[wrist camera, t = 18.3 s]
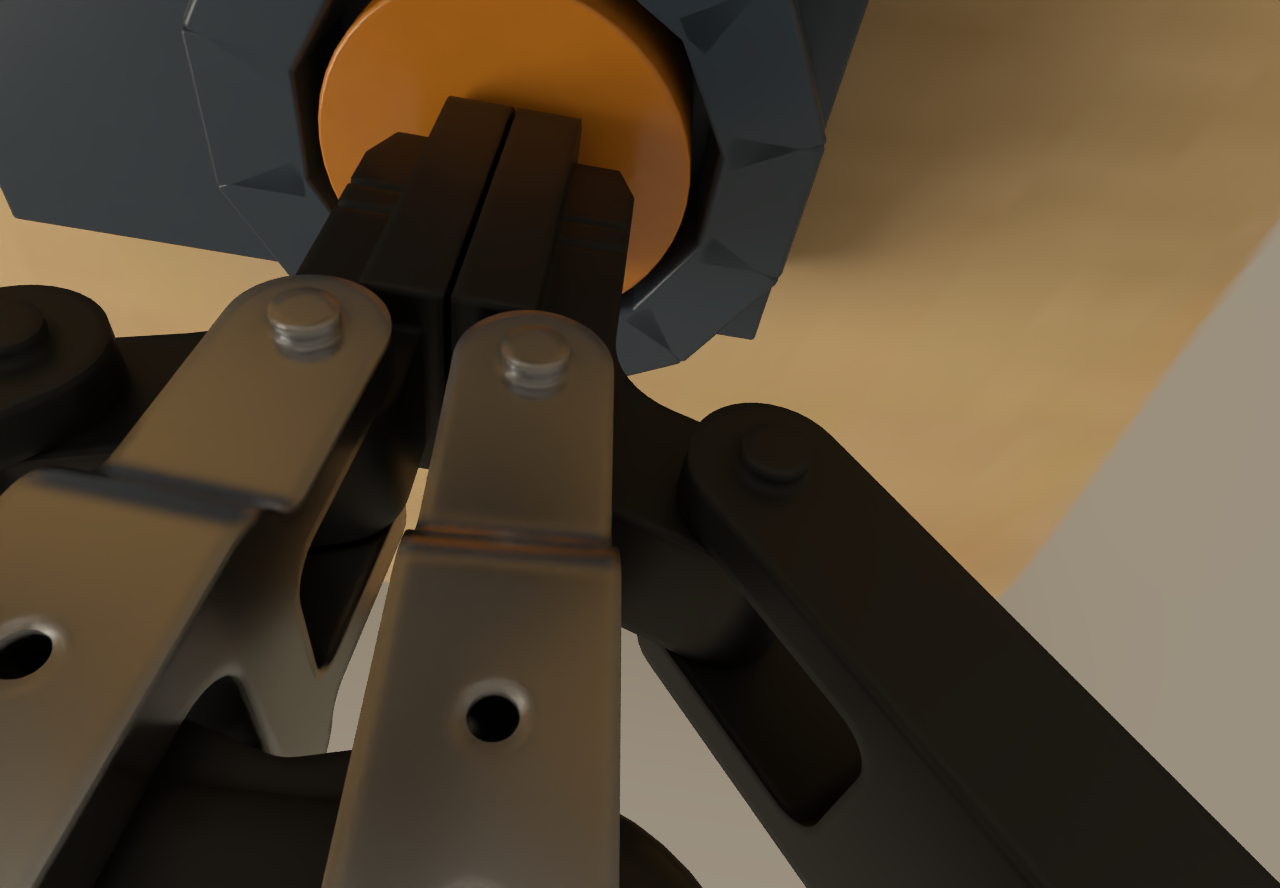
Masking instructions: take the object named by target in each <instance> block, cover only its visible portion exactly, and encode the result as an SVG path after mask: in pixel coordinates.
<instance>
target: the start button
mask: <svg viewBox="0 0 1280 888" xmlns="http://www.w3.org/2000/svg"><path fill="white" fill-rule="evenodd" d="M449 96H456V97H462V98H467V99H473V100H478V101H484V102H489V103H495V104H500V105H506V106H511V107H514V108H515V112H517V110H518V108H523V109H529V110H534V111H540V112H545V113H551V114H556V115H562V116H567V117H573V118H578V119H582V130H581V140H580V149H579V157H578V164H584V165H589V166H595V167H600V168H606V169H612V170H617V171H620V172H621V174H622V176H623V178H624V180H625V181H626V183H627V185H628V187H629V189H630V191H631V193H632V194H633V196H634V198H635V200H634V207H633V215H632V223H631V229H630V238H629V245H628V252H627V261H626V268H625V276H624V283H623V291H622V294H623V293H624V292H626V291H627V290H629V289H630V288H632V287H633V286H634V285H636V284H637V283H638V282H639V281H640V280H641V279H643V278H644V277H645V276H646V275H647V274H648V273H649V272H650V271H651V270H652V269H653V268H654V267H655V265H656V264H657V263H658V262H659V261H660V260H661V259H662V257H663V256H664V254H665V253H666V251H667V250H668V248H669V247H670V245H671V244H672V242H673V240H674V238H675V236H676V234H677V231H678V229H679V227H680V225H681V222H682V219H683V216H684V213H685V209H686V206H687V201H688V195H689V188H690V178H691V156H692V133H693V90H692V82H691V74H690V70H689V67H688V63H687V59H686V55H685V52H684V49H683V47H682V44H681V42H680V40H679V37H677V36H676V35H675V34H674V33H673V32H672V31H671V30H669V29H668V28H667V27H666V26H665V25H664V24H663V23H662V22H660V21H659V20H658V19H657V18H656V17H655V16H654V15H653V14H651V13H650V12H649V11H648V10H647V9H646V8H645V7H643V6H642V5H641V4H640V3H639V2H638V1H637V0H369V2H368V3H367V4H366V6H365V7H364V8H363V10H362V11H361V13H360V14H359V15H358V17H357V18H356V19H355V21H354V22H353V23H352V25H351V26H350V27H349V29H348V30H347V32H346V33H345V35H344V36H343V38H342V39H341V41H340V42H339V44H338V46H337V47H336V49H335V50H334V53H333V55H332V57H331V60H330V62H329V64H328V67H327V69H326V71H325V75H324V79H323V83H322V87H321V91H320V98H319V110H318V127H319V141H320V146H321V151H322V156H323V161H324V165H325V168H326V171H327V174H328V177H329V180H330V183H331V185H332V188H333V190H334V192H335V194H336V196H337V198H338V199H339V198H340V196H341V194H342V192H343V191H344V189H345V187H346V185H347V184H348V183H351V177H352V175H353V173H354V172H355V170H356V168H357V166H358V165H359V163H360V161H361V159H362V158H363V156H364V154H365V152H366V151H367V150H369V149H371V148H372V147H374V146H376V145H377V144H379V143H380V142H382V141H384V140H385V139H387V138H389V137H390V136H392V135H393V134H395V133H397V132H403V133H409V134H414V135H420V136H425V137H428V136H429V134H430V132H431V130H432V128H433V126H434V124H435V122H436V120H437V118H438V116H439V114H440V112H441V110H442V108H443V106H444V103H445V101H446V100H447V98H448V97H449Z"/></svg>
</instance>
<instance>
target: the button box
mask: <svg viewBox="0 0 1280 888" xmlns="http://www.w3.org/2000/svg"><path fill="white" fill-rule="evenodd" d="M637 1H638V2H639V3H640V4H641V5H642V6H643V7H645V8H646V9H647V10H648V11H649V12H650V13H651V14H653V15H654V16H655V17H656V18H657V19H658V20H659V21H660V22H662V23H663V24H664V25H665V26H666V27H667V28H668V29H669V30H671V31H672V32H673V33H674V34H675V35H676V36H677V37H679V40H680V42H681V44H682V47H683V49H684V52H685V55H686V59H687V63H688V67H689V70H690V74H691V82H692V90H693V133H692V156H691V178H690V188H689V195H688V201H687V206H686V209H685V213H684V216H683V219H682V222H681V225H680V227H679V229H678V231H677V234H676V236H675V238H674V240H673V242H672V244H671V245H670V247H669V248H668V250H667V251H666V253H665V254H664V256H663V257H662V259H661V260H660V261H659V262H658V263H657V264H656V265H655V267H654V268H653V269H652V270H651V271H650V272H649V273H648V274H647V275H646V276H645V277H644V278H643V279H641V280H640V281H639V282H638V283H637V284H636V285H634V286H633V287H632V288H630V289H629V290H627V291H626V292H624V293H623V294H622V299H621V306H620V314H619V321H618V329H617V337H616V352H617V357H618V360H619V363H620V365H621V367H622V369H623V371H624V372H625V374H626V376H629V375H633V374H638V373H642V372H646V371H650V370H654V369H658V368H662V367H667V366H671V365H675V364H678V363H680V361H685V360H686V359H687V358H689V357H690V356H691V355H692V354H693V353H695V352H696V351H697V350H698V349H699V348H700V347H702V346H703V345H704V344H705V343H706V342H708V341H709V340H710V339H711V338H712V337H714V336H715V335H716V334H720V335H726V336H732V337H738V338H744V339H750V340H752V339H754V337H755V335H756V332H757V329H758V326H759V323H760V320H761V317H762V314H763V311H764V308H765V305H766V302H767V299H768V297H769V294H770V291H771V288H772V287H773V286H774V285H775V284H776V283H777V281H778V278H779V276H780V275H781V274H782V272H783V269H784V266H785V263H786V260H787V258H788V255H789V252H790V249H791V246H792V243H793V240H794V237H795V234H796V231H797V228H798V226H799V223H800V220H801V217H802V214H803V211H804V208H805V205H806V202H807V199H808V197H809V194H810V191H811V188H812V185H813V182H814V179H815V176H816V173H817V170H818V167H819V165H820V162H821V159H822V156H823V153H824V150H825V149H824V144H825V143H826V134H825V128H826V125H827V122H828V119H829V116H830V113H831V110H832V107H833V104H834V101H835V98H836V95H837V93H838V90H839V87H840V84H841V81H842V78H843V75H844V72H845V69H846V66H847V63H848V60H849V57H850V54H851V51H852V48H853V45H854V42H855V39H856V36H857V33H858V30H859V27H860V24H861V22H862V19H863V16H864V13H865V10H866V7H867V4H868V1H869V0H637ZM368 2H369V0H0V187H1V189H2V191H3V194H4V196H5V198H6V200H7V203H8V205H9V207H10V209H11V211H12V214H13V216H14V217H15V218H18V219H24V220H30V221H36V222H42V223H48V224H54V225H60V226H66V227H72V228H78V229H84V230H90V231H96V232H103V233H109V234H115V235H121V236H127V237H133V238H139V239H145V240H151V241H157V242H163V243H169V244H175V245H181V246H187V247H193V248H199V249H205V250H211V251H217V252H224V253H230V254H236V255H242V256H248V257H254V258H260V259H266V260H272V261H278V262H279V263H280V265H281V266H282V267H283V268H284V269H285V271H286V272H287V273H288V274H289V276H293V275H295V274H296V273H297V271H298V269H299V267H300V266H301V264H302V262H303V260H304V259H305V257H306V255H307V253H308V252H309V250H310V248H311V246H312V245H313V243H314V241H315V239H316V238H317V236H318V234H319V232H320V231H321V229H322V227H323V226H324V224H325V222H326V220H327V219H328V217H329V215H330V213H331V212H332V210H333V208H334V206H338V198H337V196H336V194H335V192H334V190H333V188H332V185H331V183H330V180H329V177H328V174H327V171H326V168H325V165H324V161H323V156H322V151H321V146H320V141H319V127H318V110H319V98H320V91H321V87H322V83H323V79H324V75H325V71H326V69H327V67H328V64H329V62H330V60H331V57H332V55H333V53H334V50H335V49H336V47H337V46H338V44H339V42H340V41H341V39H342V38H343V36H344V35H345V33H346V32H347V30H348V29H349V27H350V26H351V25H352V23H353V22H354V21H355V19H356V18H357V17H358V15H359V14H360V13H361V11H362V10H363V8H364V7H365V6H366V4H367V3H368Z"/></svg>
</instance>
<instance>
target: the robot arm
mask: <svg viewBox="0 0 1280 888" xmlns="http://www.w3.org/2000/svg"><path fill="white" fill-rule="evenodd" d="M581 130H582V119H578V118H573V117H567V116H562V115H556V114H551V113H545V112H540V111H534V110H529V109H523V108H518V110H517V112H515V108H514V107H511V106H506V105H500V104H495V103H489V102H484V101H478V100H473V99H467V98H462V97H456V96H449V97H448V98H447V100H446V101H445V103H444V106H443V108H442V110H441V112H440V114H439V116H438V118H437V120H436V122H435V124H434V126H433V128H432V130H431V132H430V134H429V136H428V137H425V136H420V135H414V134H409V133H403V132H397V133H395V134H393V135H392V136H390V137H389V138H387V139H385V140H384V141H382V142H380V143H379V144H377V145H376V146H374V147H372V148H371V149H369V150H367V151H366V152H365V154H364V156H363V158H362V159H361V161H360V163H359V165H358V166H357V168H356V170H355V172H354V173H353V175H352V177H351V183H348V184H347V185H346V187H345V189H344V191H343V192H342V194H341V196H340V198H339V199H338V206H334V208H333V210H332V212H331V213H330V215H329V217H328V219H327V220H326V222H325V224H324V226H323V227H322V229H321V231H320V232H319V234H318V236H317V238H316V239H315V241H314V243H313V245H312V246H311V248H310V250H309V252H308V253H307V255H306V257H305V259H304V260H303V262H302V264H301V266H300V267H299V269H298V271H297V273H296V274H295V275H293V276H286V277H281V278H277V279H273V280H269V281H266V282H264V283H261V284H259V285H256V286H254V287H252V288H250V289H248V290H247V291H245V292H243V293H242V294H240V295H239V296H238V297H236V298H235V299H234V300H233V301H232V302H231V303H230V304H229V305H228V306H227V307H226V308H225V310H224V311H223V312H222V314H221V315H220V316H219V317H218V319H217V320H216V321H215V323H214V324H213V325H212V326H211V328H210V329H209V330H208V331H205V332H195V333H185V334H168V335H152V336H135V337H119V338H115V336H114V333H113V330H112V328H111V325H110V323H109V320H108V318H107V315H106V313H105V312H104V311H103V309H102V308H101V307H100V306H99V305H98V304H97V303H95V302H94V301H93V300H92V299H90V298H88V297H86V296H84V295H82V294H80V293H77V292H74V291H71V290H68V289H64V288H59V287H54V286H43V285H17V286H8V287H0V888H702V887H701V885H700V884H699V883H698V881H696V879H695V878H694V876H693V875H692V874H691V873H690V871H689V870H688V869H687V868H686V867H685V866H684V865H683V864H682V863H681V862H680V861H679V860H678V859H677V858H676V857H675V856H674V855H673V854H672V853H671V852H670V851H669V850H668V849H667V848H666V847H665V846H664V845H663V844H661V843H660V842H659V841H658V840H656V839H655V838H654V837H653V836H651V835H650V834H649V833H647V832H646V831H645V830H644V829H642V828H641V827H640V826H639V825H637V824H636V823H634V822H633V821H631V820H629V819H627V818H626V817H624V816H622V815H621V814H620V712H621V711H620V708H621V707H620V706H621V627H623V628H625V629H627V630H629V631H631V632H633V633H635V634H637V636H638V642H639V645H640V648H641V650H642V653H643V654H644V656H645V658H646V659H647V661H648V663H649V664H650V666H651V667H652V669H653V670H654V671H655V673H656V674H657V675H658V677H659V679H660V680H661V681H662V683H663V684H664V686H665V687H666V689H667V690H668V691H669V693H670V694H671V696H672V697H673V699H674V700H675V701H676V703H677V704H678V706H679V707H680V708H681V710H682V711H683V713H684V714H685V716H686V717H687V718H688V720H689V721H690V723H691V724H692V726H693V727H694V728H695V730H696V731H697V733H698V734H699V736H700V737H701V738H702V740H703V741H704V743H705V744H706V745H707V747H708V748H709V750H710V751H711V753H712V754H713V755H714V757H715V758H716V760H717V761H718V762H719V764H720V765H721V767H722V768H723V770H724V771H725V773H726V774H727V775H728V777H729V778H730V779H731V781H732V782H733V784H734V785H735V787H736V788H737V790H738V791H739V792H740V793H741V795H742V797H743V798H744V799H745V801H746V802H747V804H748V805H749V806H750V808H751V809H752V811H753V812H754V814H755V815H756V817H757V818H758V819H759V821H760V822H761V824H762V825H763V827H764V828H765V829H766V831H767V832H768V834H769V835H770V837H771V838H772V839H773V841H774V842H775V844H776V845H777V846H778V848H779V849H780V851H781V852H782V854H783V855H784V856H785V858H786V859H787V861H788V862H789V864H790V865H791V866H792V868H793V869H794V871H795V872H796V873H797V875H798V876H799V878H800V879H801V881H802V882H803V883H804V885H805V886H806V888H1280V883H1279V882H1278V881H1277V880H1276V879H1275V878H1274V877H1273V876H1272V875H1271V874H1270V873H1269V872H1268V871H1267V870H1266V869H1265V868H1264V867H1263V866H1262V865H1261V864H1260V863H1259V862H1258V861H1257V860H1256V859H1255V858H1254V857H1253V856H1252V855H1251V854H1250V853H1249V852H1248V851H1247V850H1246V849H1245V848H1244V847H1242V845H1241V844H1240V843H1239V842H1237V840H1236V839H1235V838H1234V837H1233V836H1232V835H1231V834H1230V833H1229V832H1228V831H1227V830H1226V829H1225V828H1224V827H1223V826H1222V825H1221V824H1220V823H1219V822H1218V821H1217V820H1216V819H1215V818H1214V817H1213V816H1212V815H1211V814H1210V813H1209V812H1208V811H1207V810H1206V809H1204V807H1203V806H1202V805H1201V804H1200V803H1199V802H1198V801H1197V800H1196V799H1195V798H1193V796H1192V795H1191V794H1190V793H1189V792H1188V791H1187V790H1186V789H1185V788H1183V786H1182V785H1181V784H1180V783H1179V782H1178V781H1177V780H1176V779H1175V778H1174V777H1173V776H1172V775H1171V774H1170V773H1169V772H1168V771H1167V770H1166V769H1165V768H1164V767H1162V765H1161V764H1160V763H1159V762H1158V761H1156V759H1155V758H1154V757H1153V756H1151V755H1150V753H1149V752H1148V751H1147V750H1145V748H1144V747H1143V746H1142V745H1141V744H1140V743H1139V742H1137V740H1135V738H1133V736H1132V735H1130V733H1129V732H1128V731H1126V729H1124V727H1123V726H1122V725H1121V724H1119V722H1118V721H1116V719H1115V718H1113V716H1111V714H1110V713H1108V711H1107V710H1105V709H1104V707H1102V705H1101V704H1099V703H1098V701H1097V700H1095V698H1094V697H1093V696H1091V695H1090V693H1088V692H1087V690H1086V689H1084V687H1082V685H1081V684H1079V683H1078V681H1076V680H1075V679H1074V678H1073V677H1072V676H1071V675H1070V674H1069V673H1068V672H1067V671H1066V670H1065V669H1064V668H1063V667H1062V666H1061V665H1060V664H1059V663H1058V662H1057V661H1056V660H1055V659H1054V658H1053V657H1052V656H1051V655H1050V654H1049V653H1048V652H1047V651H1046V650H1045V649H1044V648H1043V647H1042V646H1041V645H1040V644H1039V643H1038V642H1037V641H1036V640H1035V639H1034V638H1033V637H1032V636H1031V635H1030V634H1029V633H1028V632H1027V631H1026V630H1025V629H1024V628H1023V627H1022V626H1021V625H1020V624H1019V623H1018V622H1017V621H1016V620H1015V619H1014V618H1013V617H1012V616H1011V615H1010V614H1009V613H1008V612H1007V611H1006V610H1005V609H1004V608H1003V607H1002V606H1001V605H1000V604H999V603H998V602H997V601H996V600H995V599H994V598H993V597H992V596H991V595H990V594H989V593H988V592H987V591H986V590H985V589H984V588H983V587H982V586H981V585H980V584H979V583H978V582H977V581H976V580H975V579H974V578H973V577H972V576H971V575H970V574H969V573H968V572H967V571H966V570H965V569H964V568H963V567H962V566H961V565H960V564H959V563H958V562H957V561H956V560H955V559H954V558H953V557H952V556H951V555H950V554H949V553H948V552H947V551H946V550H945V549H944V548H943V547H942V546H941V545H940V544H939V543H938V542H937V541H936V540H935V539H934V538H933V537H932V536H931V535H930V534H929V533H928V532H927V531H926V530H925V529H924V528H923V527H922V526H921V525H920V524H919V523H918V522H917V521H916V520H915V519H914V518H913V517H912V516H911V515H910V514H909V513H908V512H907V511H906V510H905V509H904V508H903V507H902V506H901V505H900V504H899V503H898V502H897V501H896V500H895V499H894V498H893V497H892V496H891V495H890V494H889V493H888V492H887V491H886V490H885V489H884V488H883V487H882V486H881V485H880V484H879V483H878V482H877V481H876V480H875V479H874V478H873V477H872V476H871V475H870V474H869V473H868V472H867V471H866V470H865V469H864V468H863V467H862V466H861V465H860V464H859V463H858V462H857V461H856V460H855V459H854V458H853V457H852V456H851V455H850V454H849V453H848V452H847V451H846V450H845V449H844V448H843V447H842V446H841V445H840V444H839V443H838V442H837V441H836V440H835V439H834V438H833V437H832V436H831V435H830V434H829V433H828V432H827V431H825V430H824V429H823V428H822V427H821V426H819V425H818V424H816V423H815V422H813V421H812V420H810V419H809V418H807V417H805V416H803V415H801V414H799V413H797V412H794V411H791V410H789V409H786V408H783V407H779V406H775V405H771V404H763V403H740V404H733V405H729V406H726V407H723V408H720V409H718V410H716V411H714V412H712V413H710V414H709V415H708V416H706V417H705V418H704V419H703V420H702V421H701V422H698V421H696V420H694V419H691V418H689V417H687V416H684V415H682V414H680V413H677V412H675V411H673V410H670V409H668V408H666V407H664V406H662V405H660V404H658V403H657V402H655V401H654V400H652V399H651V398H649V397H648V396H646V395H645V394H644V393H643V392H641V391H640V390H639V389H638V388H637V387H636V386H635V385H634V384H633V383H632V382H631V381H630V380H629V379H628V377H627V376H626V374H625V372H624V371H623V369H622V367H621V365H620V363H619V360H618V357H617V352H616V337H617V329H618V321H619V314H620V306H621V299H622V291H623V283H624V276H625V268H626V261H627V252H628V245H629V238H630V229H631V223H632V215H633V207H634V200H635V198H634V196H633V194H632V193H631V191H630V189H629V187H628V185H627V183H626V181H625V180H624V178H623V176H622V174H621V172H620V171H617V170H612V169H606V168H600V167H595V166H589V165H584V164H578V157H579V149H580V140H581ZM418 468H425V469H429V472H428V476H427V481H426V486H425V491H424V495H423V500H422V505H421V510H420V514H419V519H418V522H417V525H416V528H415V530H411V529H408V530H406V531H405V532H404V529H405V525H406V503H407V500H408V498H409V495H410V492H411V489H412V486H413V483H414V480H415V476H416V473H417V470H418ZM403 532H404V534H403ZM402 535H403V536H402ZM401 537H402V538H401ZM400 540H401V541H400ZM399 542H400V544H399ZM398 545H399V547H398ZM397 547H398V550H397V554H396V557H395V561H394V565H393V570H392V574H391V578H390V583H389V587H388V592H387V596H386V601H385V606H384V610H383V614H382V619H381V623H380V628H379V632H378V637H377V642H376V645H375V650H374V655H373V659H372V663H371V668H370V673H369V677H368V681H367V686H366V690H365V695H364V699H363V704H362V708H361V713H360V717H359V721H358V726H357V730H356V735H355V739H354V744H353V748H352V750H348V751H340V752H332V753H326V752H327V748H328V744H329V739H330V734H331V728H332V718H333V710H334V705H335V701H336V697H337V693H338V690H339V687H340V684H341V681H342V679H343V676H344V673H345V671H346V669H347V666H348V664H349V661H350V659H351V657H352V654H353V652H354V650H355V647H356V645H357V642H358V640H359V638H360V635H361V633H362V631H363V628H364V626H365V623H366V621H367V619H368V616H369V614H370V611H371V609H372V607H373V604H374V602H375V599H376V597H377V595H378V592H379V590H380V588H381V585H382V583H383V580H384V578H385V576H386V573H387V571H388V568H389V566H390V564H391V561H392V559H393V556H394V554H395V552H396V549H397Z"/></svg>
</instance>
